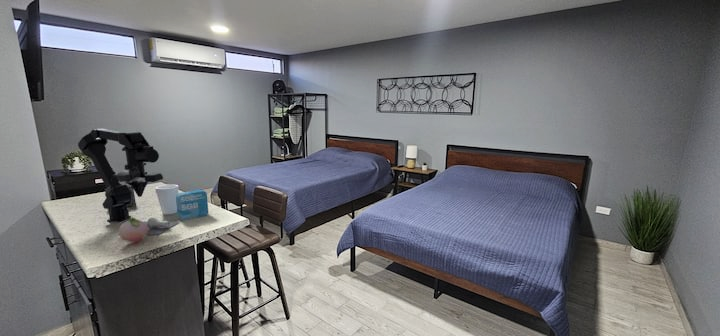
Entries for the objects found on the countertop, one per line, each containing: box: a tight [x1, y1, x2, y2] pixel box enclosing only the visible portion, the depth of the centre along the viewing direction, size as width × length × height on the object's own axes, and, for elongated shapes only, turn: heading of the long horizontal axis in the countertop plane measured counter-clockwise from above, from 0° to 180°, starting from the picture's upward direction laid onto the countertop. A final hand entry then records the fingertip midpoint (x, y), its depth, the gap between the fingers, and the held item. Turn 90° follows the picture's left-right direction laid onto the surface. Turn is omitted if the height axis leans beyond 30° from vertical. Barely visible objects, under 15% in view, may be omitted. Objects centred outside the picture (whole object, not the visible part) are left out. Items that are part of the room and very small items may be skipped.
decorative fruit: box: [118, 216, 148, 243], centre depth 112 cm, size 9×8×10 cm
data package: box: [176, 189, 209, 221], centre depth 140 cm, size 12×4×12 cm, turn 134°
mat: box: [117, 221, 180, 236], centre depth 126 cm, size 16×14×1 cm
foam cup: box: [155, 183, 180, 216], centre depth 146 cm, size 10×9×13 cm
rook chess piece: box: [146, 217, 171, 229], centre depth 125 cm, size 4×4×8 cm
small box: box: [104, 184, 137, 208], centre depth 154 cm, size 11×6×10 cm, turn 144°
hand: (140, 196), depth 131 cm, fingers closed
